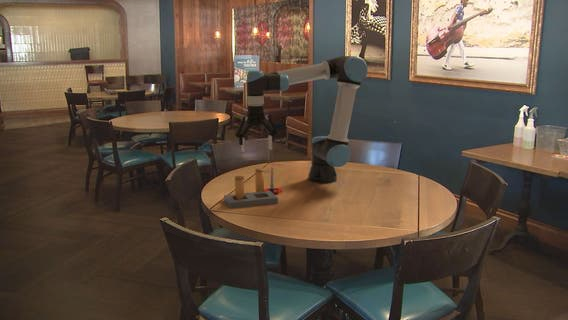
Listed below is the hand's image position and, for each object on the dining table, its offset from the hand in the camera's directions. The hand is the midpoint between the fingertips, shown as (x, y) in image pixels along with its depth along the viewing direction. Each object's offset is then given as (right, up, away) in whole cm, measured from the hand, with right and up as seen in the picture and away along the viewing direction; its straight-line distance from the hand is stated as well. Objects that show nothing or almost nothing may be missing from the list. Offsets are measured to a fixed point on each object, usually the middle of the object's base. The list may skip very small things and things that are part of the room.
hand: (256, 150), depth 229 cm
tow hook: (+7, -20, +8) cm, 23 cm away
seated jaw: (-7, -24, -9) cm, 26 cm away
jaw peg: (+1, -20, +5) cm, 21 cm away
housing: (-2, -23, -8) cm, 25 cm away
